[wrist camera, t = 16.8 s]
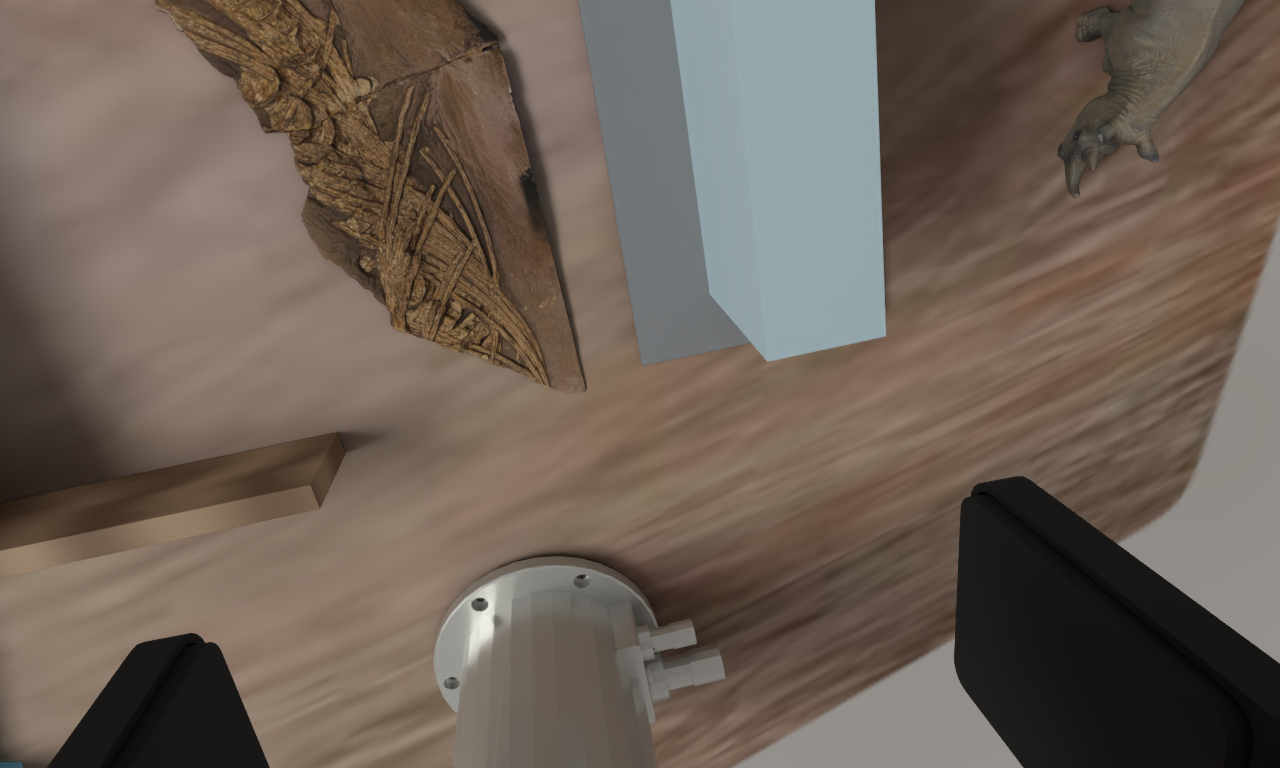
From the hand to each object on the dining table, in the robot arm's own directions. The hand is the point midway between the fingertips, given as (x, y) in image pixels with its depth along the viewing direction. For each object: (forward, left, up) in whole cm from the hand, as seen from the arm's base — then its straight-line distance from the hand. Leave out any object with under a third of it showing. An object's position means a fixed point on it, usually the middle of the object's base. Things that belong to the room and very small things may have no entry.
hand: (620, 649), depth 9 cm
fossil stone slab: (+5, -4, -27) cm, 28 cm away
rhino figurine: (-27, -4, -27) cm, 38 cm away
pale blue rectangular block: (-9, -5, -26) cm, 28 cm away
